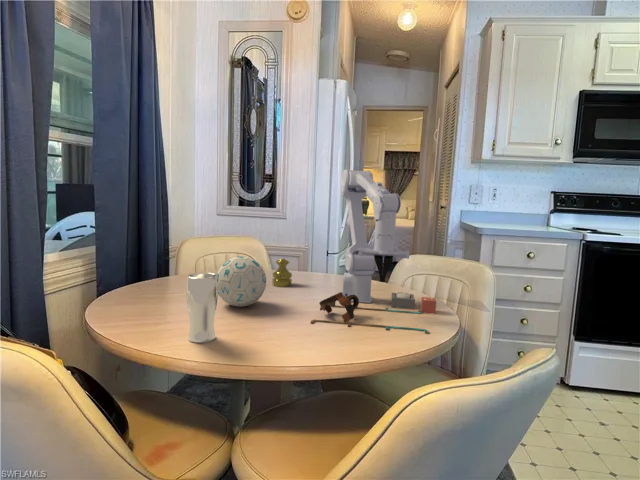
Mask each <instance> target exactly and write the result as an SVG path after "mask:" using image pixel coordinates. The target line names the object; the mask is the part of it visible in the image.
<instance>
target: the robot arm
mask: <svg viewBox="0 0 640 480" xmlns="http://www.w3.org/2000/svg"><path fill="white" fill-rule="evenodd" d="M340 186H341V187H340V188H341V194H342V197H344V199H346V204H347V212H348V221H349V227H350V228H349V229H350V235H351V246H349V247H348V248H347V249H346V251H345V253H344V254H345V255H344V257H345V258H344V268H345V270H346V271H347V272H344V273H343V281H342V291H341V292H342V294H343V295H344V296H346V297H347V296H349V295H356V296H357V297H358V299H359V303H367V304H369V303H372V300H373V299H372V298H373V296H372V294H371V293H372V276H373V275H374V274H375V272H376V271H378V275H379V282H380V283H385V281H386V276H387V274H388V271H389V269H390V267H391V265H392V263H393V261H394V258H395V259H396V258H400V259H410V251H408V250H399V249H395V239H396V237H395V236H396V223H397V222H396V221H397V220H396V219H397V214H398V213H399V212H400V209H401V206H402V205H401V204H402V202H401V201H402V199H401V197H400V195H399V194H398V193H396V192H394V193H391V192H390V191H389V190H388V189H387V188H386V187H385V186H384V185H383V183H382V182H380V181H379V182H378V181H377V182H375V181H374V176H373V173H372V171H370V170H353V169H352V170H350V169H344V170H343V171H342V172H341V177H340ZM365 198H368V200H370V202H371V203H372V207H373V217H374V219H375V227H374V230H375V231H374V245H373V246H372V245H370V244H369V243H368V241H367V239H368V238H367V233H366V225H365V218H364V212H363V205H362V200H363V199H365ZM351 302H353V300H351Z"/></svg>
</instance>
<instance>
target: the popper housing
mask: <svg viewBox="0 0 640 480" xmlns="http://www.w3.org/2000/svg"><path fill="white" fill-rule="evenodd" d="M396 293H397V292H391V300H390V303H391V305H392V306H391V308H395V307H399V308H400V309H408V308H413V309H412V310H415V303H416V299H415V296H414V294H413V293H409V294H410V298H397V297H396ZM399 308H398V309H399Z"/></svg>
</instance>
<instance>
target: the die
mask: <svg viewBox="0 0 640 480" xmlns="http://www.w3.org/2000/svg"><path fill="white" fill-rule="evenodd" d="M420 299H421V301H420V310H421V311H422V313H421V314H430V313H434V314H433V315H436V311H437V300H436V298H435V297H428V296H426V297H425V296H421V298H420Z"/></svg>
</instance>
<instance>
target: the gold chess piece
mask: <svg viewBox="0 0 640 480" xmlns="http://www.w3.org/2000/svg"><path fill="white" fill-rule="evenodd" d="M275 264H276V265H278V268H276V270H275V271H273V272H272V274H271V275H272V277H273V278H272V280H271V281H272V286H274V287H277V286H278V287H277V288H279V287H280V288H286V287H287V286H288V287H291V286H292V283H293V281H292V280H293V279H292V276H293V273H292V272H291V271H289V269H288V268H287V266H288V265H289V264H290V261H289V260H287V259H286V258H280V259H277V260H276V261H275Z"/></svg>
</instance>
